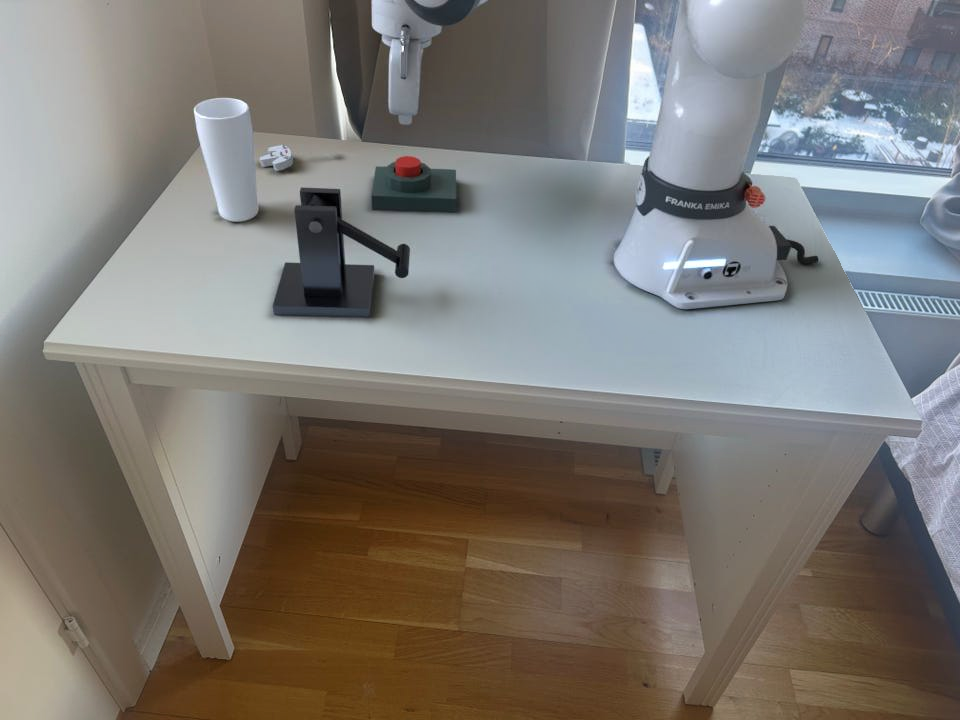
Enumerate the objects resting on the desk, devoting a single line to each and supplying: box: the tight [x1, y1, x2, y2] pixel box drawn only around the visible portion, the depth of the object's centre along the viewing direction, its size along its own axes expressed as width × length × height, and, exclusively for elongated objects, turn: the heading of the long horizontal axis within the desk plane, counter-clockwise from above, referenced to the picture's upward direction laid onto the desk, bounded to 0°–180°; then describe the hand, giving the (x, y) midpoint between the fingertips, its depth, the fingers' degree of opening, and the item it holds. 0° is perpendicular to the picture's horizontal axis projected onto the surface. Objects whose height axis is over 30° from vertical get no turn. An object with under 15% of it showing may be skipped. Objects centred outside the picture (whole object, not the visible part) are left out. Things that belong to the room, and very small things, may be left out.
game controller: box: [259, 143, 338, 172], centre depth 115 cm, size 6×12×3 cm, turn 129°
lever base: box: [272, 186, 375, 318], centre depth 86 cm, size 11×9×13 cm
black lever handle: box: [307, 195, 411, 279], centre depth 85 cm, size 13×5×2 cm
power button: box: [395, 155, 422, 177], centre depth 106 cm, size 4×4×2 cm
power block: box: [370, 161, 458, 213], centre depth 108 cm, size 12×9×4 cm
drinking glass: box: [193, 97, 260, 223], centre depth 98 cm, size 7×7×15 cm
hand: (405, 120), depth 102 cm, fingers closed
